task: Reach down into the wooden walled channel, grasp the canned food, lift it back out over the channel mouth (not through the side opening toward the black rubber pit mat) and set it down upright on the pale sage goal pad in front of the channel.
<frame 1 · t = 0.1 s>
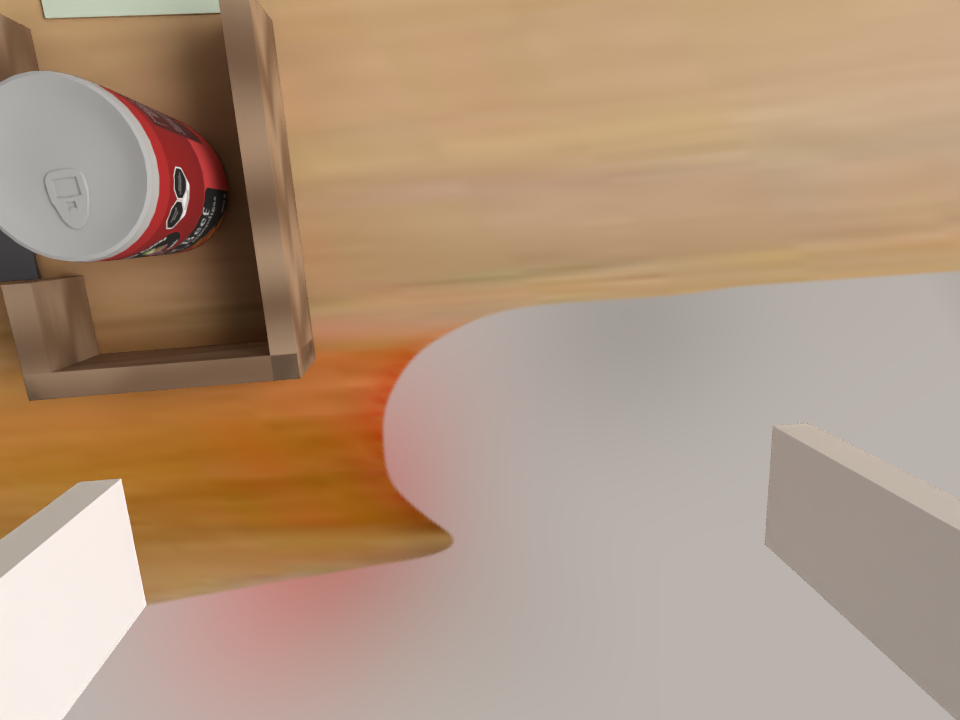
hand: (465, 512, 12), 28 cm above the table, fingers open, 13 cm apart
canned food: (169, 187, 36), on the table
wooden walled channel: (171, 208, 36), on the table
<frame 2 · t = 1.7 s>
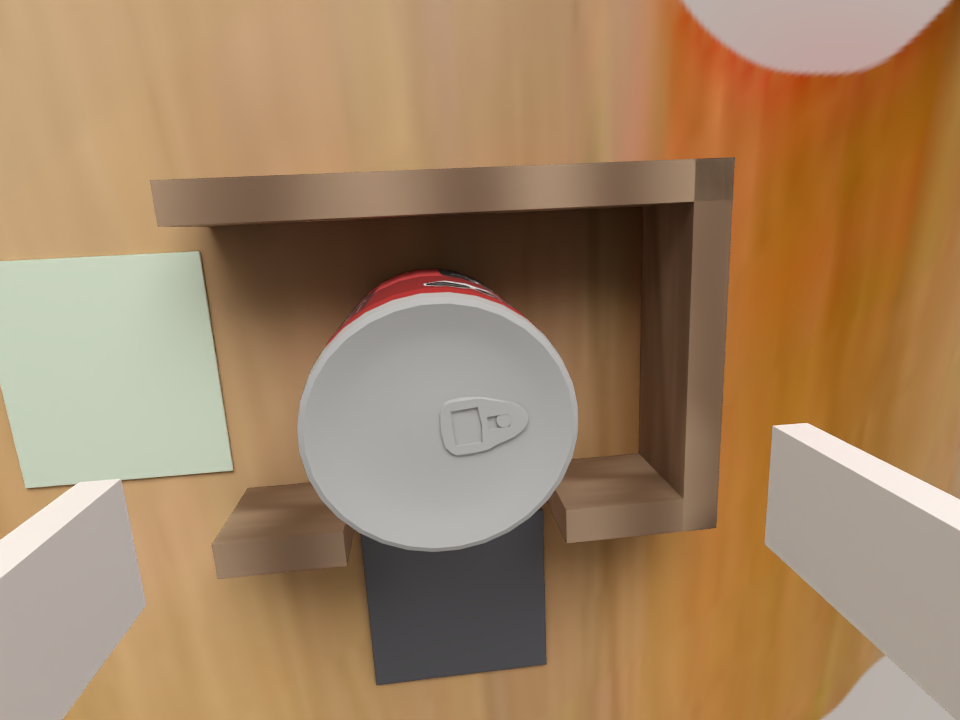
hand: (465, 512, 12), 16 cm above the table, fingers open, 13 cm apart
canned food: (430, 349, 27), on the table
wooden walled channel: (458, 348, 27), on the table
goal pad: (111, 372, 25), on the table
pit mat: (457, 597, 30), on the table
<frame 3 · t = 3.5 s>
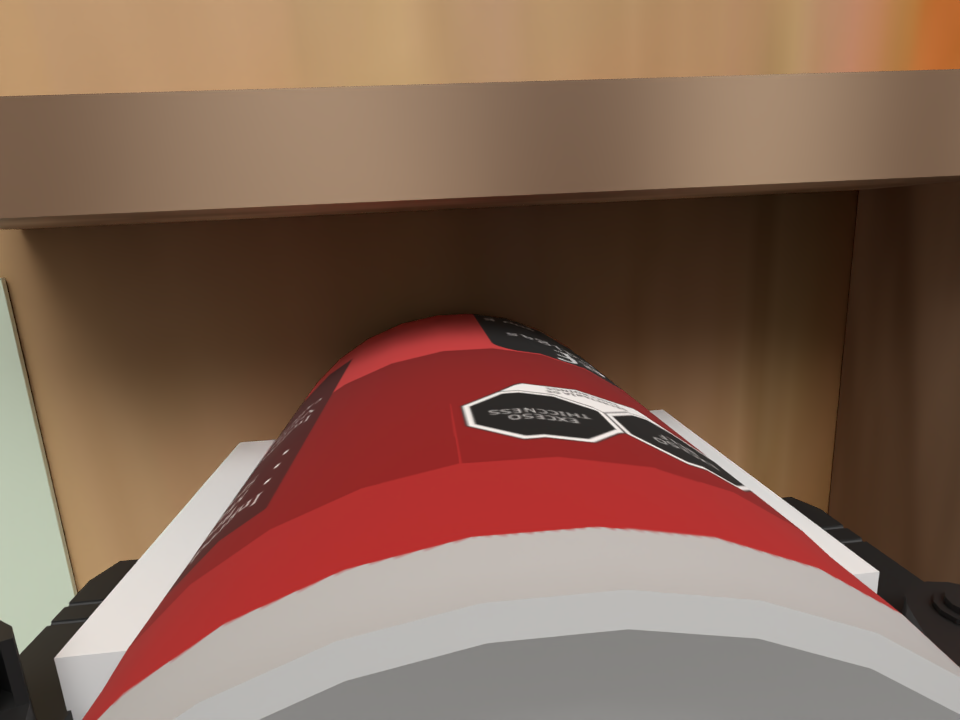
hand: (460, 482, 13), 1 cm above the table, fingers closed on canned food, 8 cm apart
canned food: (457, 457, 15), on the table, touching gripper
wooden walled channel: (507, 454, 15), on the table
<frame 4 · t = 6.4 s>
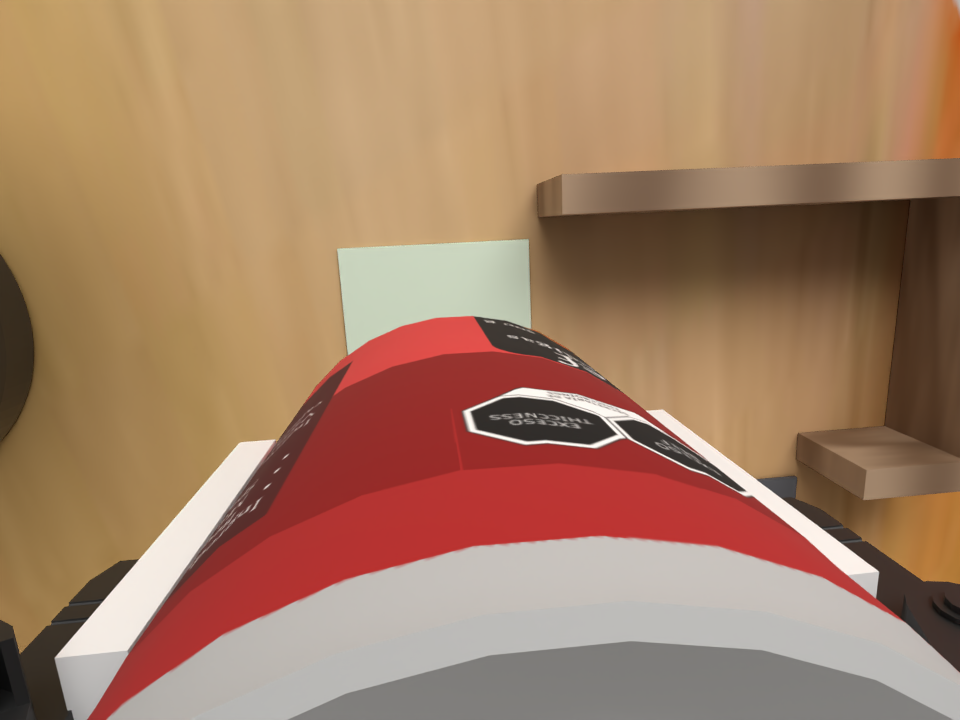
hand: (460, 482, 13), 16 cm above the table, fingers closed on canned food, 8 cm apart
canned food: (457, 459, 15), point 14 cm above the table, touching gripper
wooden walled channel: (737, 328, 30), on the table
goal pad: (440, 347, 29), on the table
pit mat: (712, 556, 33), on the table
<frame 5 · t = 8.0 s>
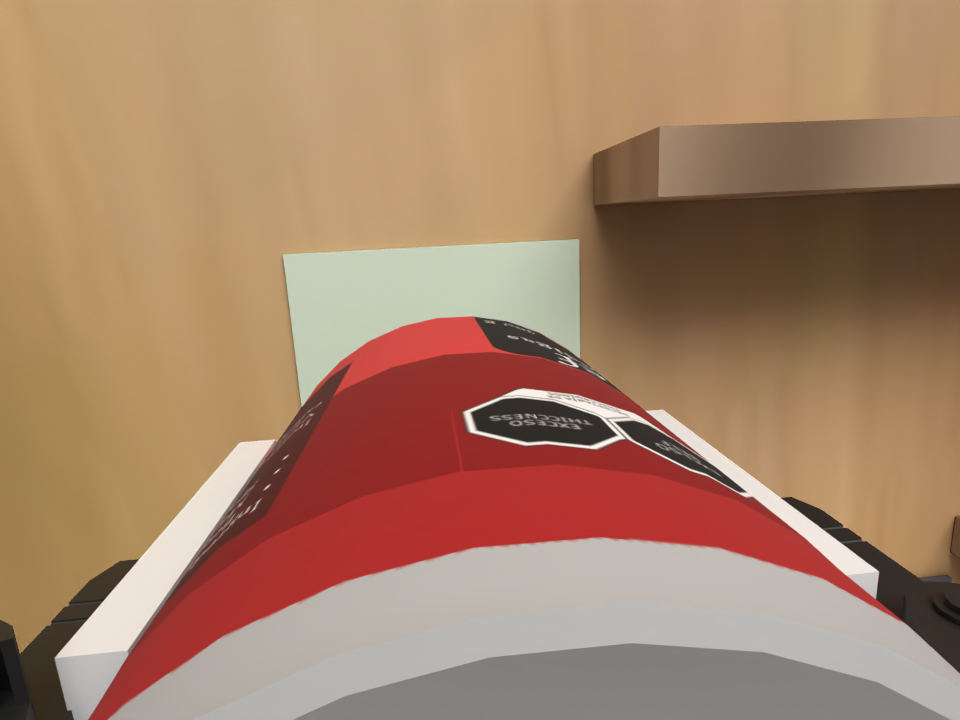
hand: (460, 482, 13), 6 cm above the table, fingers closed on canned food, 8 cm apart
canned food: (457, 459, 15), point 4 cm above the table, touching gripper
wooden walled channel: (880, 369, 20), on the table
goal pad: (444, 402, 19), on the table
when the fingers open (2 cm above the table, at t = 9.2 s): canned food stays where it is, resting on goal pad.
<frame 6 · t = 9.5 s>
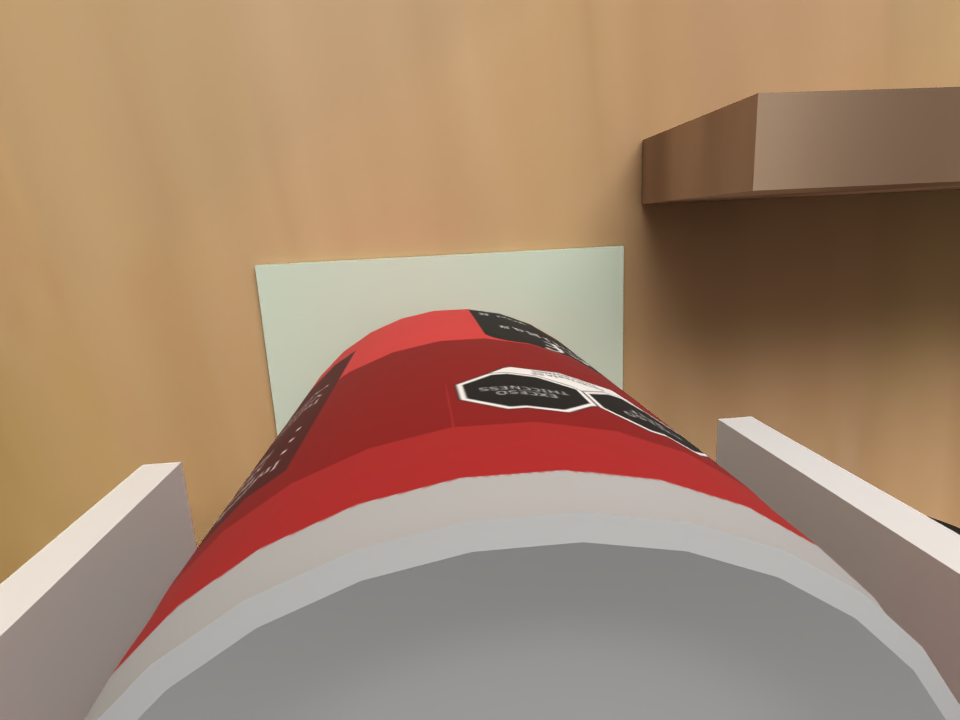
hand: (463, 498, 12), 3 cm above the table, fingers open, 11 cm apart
canned food: (454, 445, 15), resting on goal pad
goal pad: (455, 446, 15), on the table
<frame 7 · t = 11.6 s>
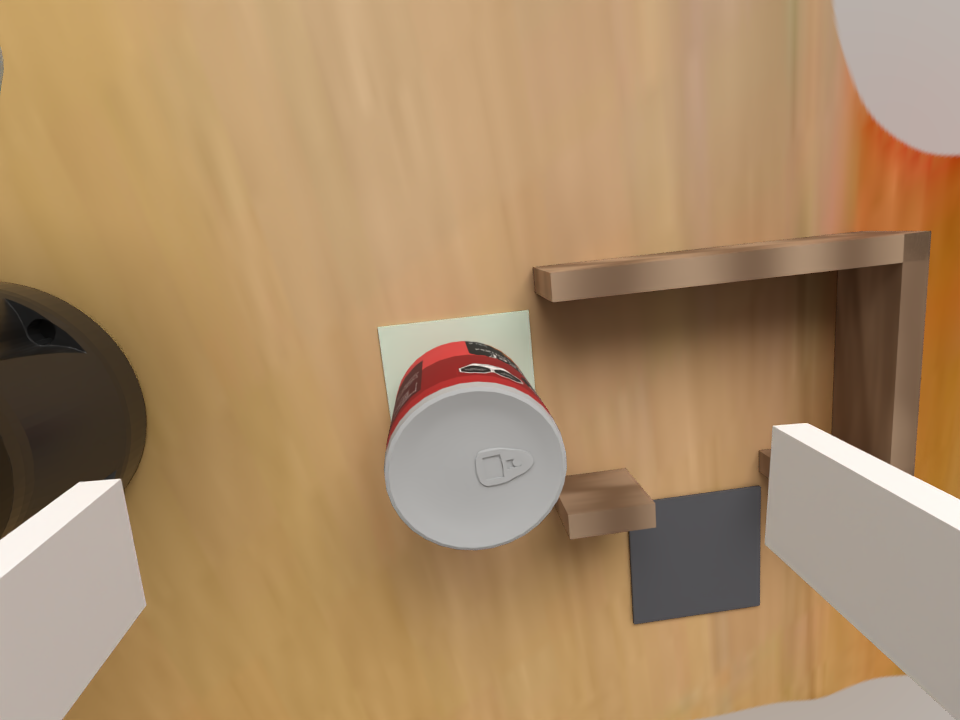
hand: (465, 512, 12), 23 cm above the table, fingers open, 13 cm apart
canned food: (462, 398, 36), resting on goal pad
wooden walled channel: (702, 369, 37), on the table
goal pad: (462, 398, 36), on the table
pit mat: (695, 555, 39), on the table
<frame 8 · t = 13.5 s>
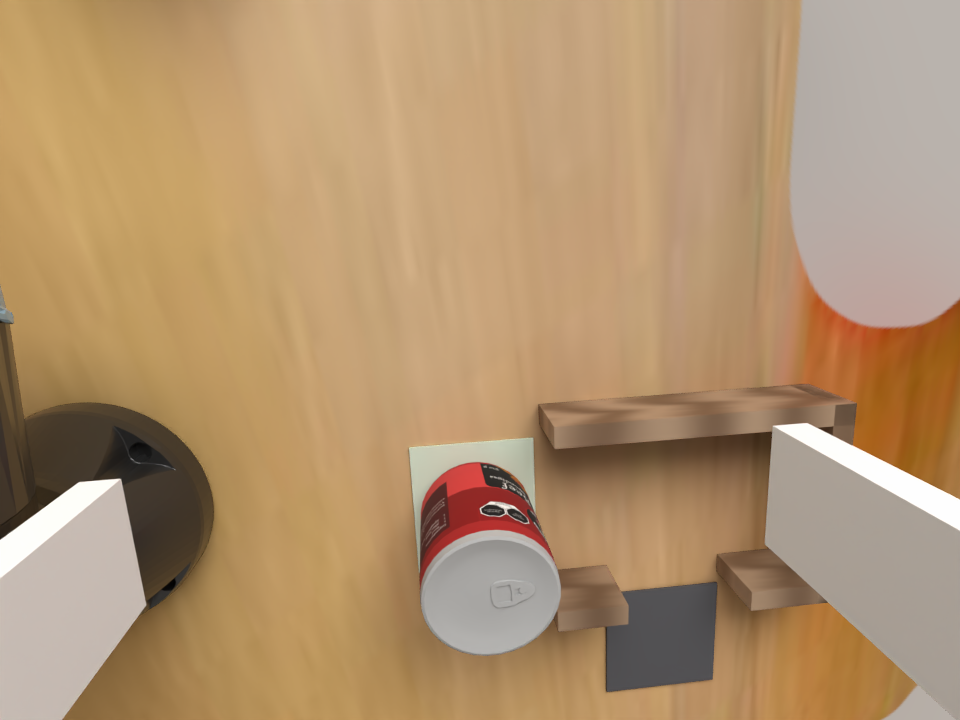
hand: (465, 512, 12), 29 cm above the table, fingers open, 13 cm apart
canned food: (474, 505, 43), resting on goal pad
wooden walled channel: (673, 488, 44), on the table
goal pad: (475, 505, 43), on the table
pit mat: (660, 636, 47), on the table
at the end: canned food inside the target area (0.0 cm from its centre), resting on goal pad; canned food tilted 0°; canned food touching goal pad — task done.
